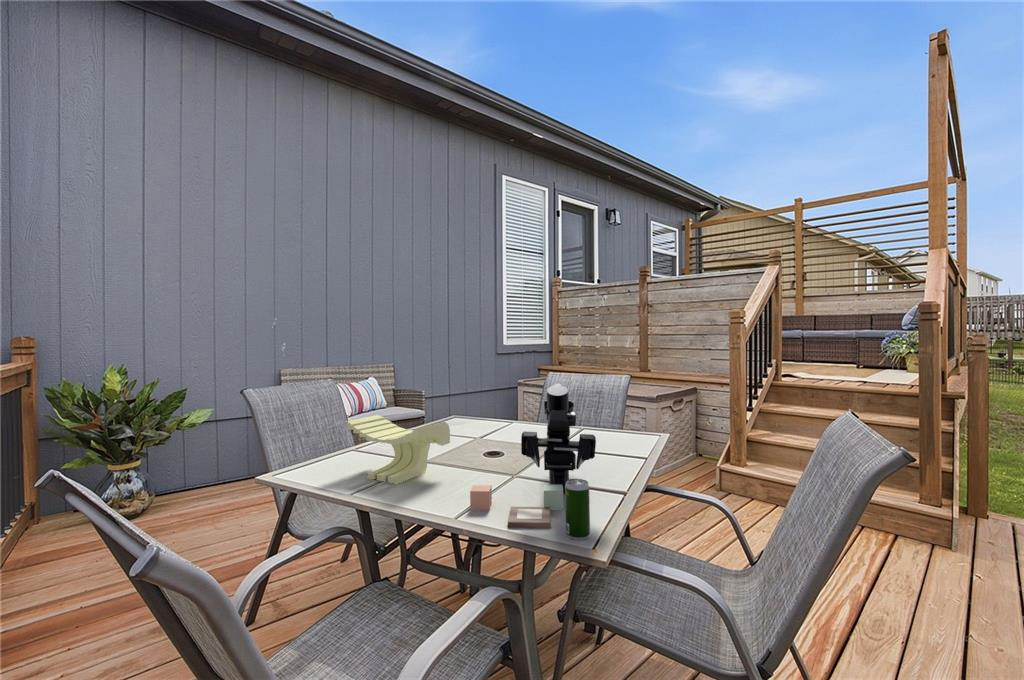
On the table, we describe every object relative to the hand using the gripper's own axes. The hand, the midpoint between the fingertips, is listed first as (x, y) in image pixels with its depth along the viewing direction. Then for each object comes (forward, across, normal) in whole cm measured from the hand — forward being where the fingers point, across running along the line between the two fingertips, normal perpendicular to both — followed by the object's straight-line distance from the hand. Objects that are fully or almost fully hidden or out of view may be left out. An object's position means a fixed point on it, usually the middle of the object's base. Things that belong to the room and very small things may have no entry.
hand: (558, 466), depth 110 cm
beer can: (+12, +5, +9) cm, 16 cm away
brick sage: (-4, -1, +17) cm, 18 cm away
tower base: (+4, -6, +13) cm, 15 cm away
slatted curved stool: (-27, -51, +30) cm, 65 cm away
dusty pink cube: (-3, -20, +17) cm, 26 cm away
